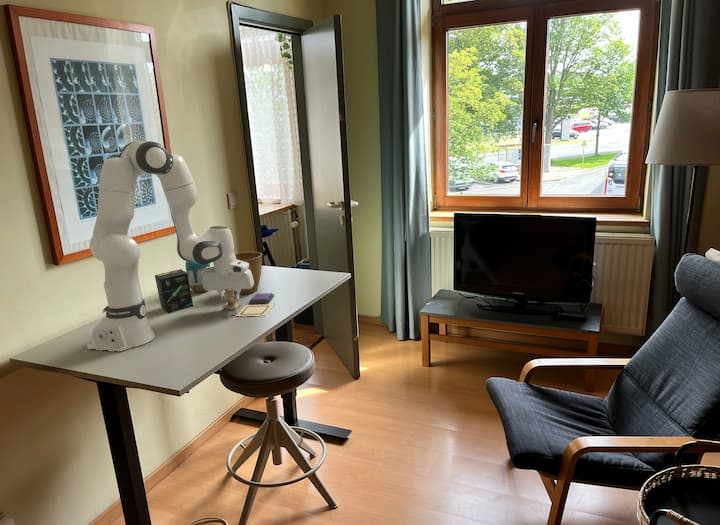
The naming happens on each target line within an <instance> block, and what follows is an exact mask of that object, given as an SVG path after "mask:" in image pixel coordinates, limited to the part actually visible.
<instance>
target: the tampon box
mask: <svg viewBox="0 0 720 525" xmlns="http://www.w3.org/2000/svg"><path fill="white" fill-rule="evenodd" d="M154 279H155V283H156V289H157V293H158V297H159V303H160V307H161V309H163V310H164V311H165V312H166V313H167V314H170V313H174V312H178V311H181V310H183V309H188V308H191V307H194V302H193V296H192V292H191V290H192V289H191V288H190V285H189V279H188V273H186V270H183V269H181V268H180V269H179V268H178V269H175V270H171V271H166V272H162V273H159V274H155V275H154Z"/></svg>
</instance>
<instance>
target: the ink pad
mask: <svg viewBox="0 0 720 525" xmlns="http://www.w3.org/2000/svg"><path fill="white" fill-rule="evenodd" d="M273 297H275V293H272V292H270V293H269V292H268V293H256V294H255V295H253V297H251V299H250V300H249V305H260V304H259V303H267V304H270V303H271V301H272V300H273V299H274V298H273ZM272 298H273V299H272Z"/></svg>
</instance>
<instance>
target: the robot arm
mask: <svg viewBox="0 0 720 525" xmlns="http://www.w3.org/2000/svg"><path fill="white" fill-rule="evenodd" d="M141 174H143V175H156V177H157V178H158V180H159V181H160V184H161V188H162V190H163V194H164V196H165V198H166V201H167V204H168V208H169V211H170V216H171V219H172V223H173V226H174V229H175V230H174V231H175V234H176V238H177V240H176V241H177V242H176V243H177V244H176V251H177V254H178V256H179V257H180V259H182V260H183V261H185V262H186V261H189V262H194V263H197V264H201V265H206V264H209V263H210V264H211V263H212V265H213V266H210V267H204V268H203V269H202V271H201V274H202V277H203V288H204V289H205V290H207V291H217V293H218V295H219V296H220V297H221V298H220V299H221V300H222V301H227V298H226V294H224V292H223V291H225V290H226V289H229V290H232V289H234V290H235V292H236V294H235V293H234V299H235V301H236V300H240V294H241V292H240V291H241V289H251V288H252V287H253V285H254V280H253V276H252V272H251V271H250V270H249V269H248V268H249V263H247V262H243V261H240V260H237V259H236V256H235V254H236V253H235V243H234V239H233V238H234V237H233V235H232V231H231V229H230V228H229V227H227V226H223V225H221V226H220V225H213V226H210V227H209V229H208V230H207V231H206V232H205V233H204V234H203V235H202V236H198V235H196V234H195V231H194V229H193V225H192V221H191V217H190V210H191V208H193V206H195V204H196V202H197V200H198V192H197V187H196V184H195V181H194V177H193V176H192V173H191V171H190V168H189V167H188V164H187V162H186V161H185V159H184V158H183V157H182V156H181V155H180V154H175V153H170V152H169V151H168V150H167V149H166V148H165V147H164V146H163V145H161V143H158V142H157V141H153V140H152V141H149V140H138V141H131V142H129V143H127V144H126V145H124V147H123V148H122V149H121V151H120V153H119V154H118V155H117V157H116V156H115V157H110V158H108V159H106V160H105V161H104V162H103V164H102V167H101V172H100V176H99V177H100V178H99V181H98V182H99V183H98V184H99V186H98V202H97V212H96V213H97V214H96V215H97V216H96V220H95V224H94V226H93V232H92V237H91V239H90V240H89V251H90V252H91V254H92V255H93V257H94V258H95V259H96V260H98V261H99V262H102V263H103V267H104V283H103V288H104V291H105V297H106V301H107V306H105V307H104V308H103V309H102V312H101V313H103V314H104V313H105V312H106V313H105V316H104V318H102V320H101V321H99V323H97V324H96V325H95V326H94V328H93V330H92V339H91V340H90V341H89V342H88V343H87V344H86V349H87V348H89V349H88V350H91V349H96V350H95V351H102V350H108V351H107V352H114V351H118V352H117V353H119V351H121V352H124V351H127V350H129V349H133V348H137V347H140V346H142V345H145V344H147V343H149V342H151V341H152V340H154V339H155V337H156V334H155V332H154V331H153V328H152V326H151V324H150V321H149V319H148V316H147V306H146V303H145V302H146V301H145V299H144V298H143V293H142V288H141V285H140V284H141V283H140V278H139V265H140V264H139V263H140V262H139V260H140V258H141V253H142V252H141V248H140V245H139V243H137V242H136V240H134V239H133V238H132V237H131V236H129V235H128V232H129V228H130V226H131V225H130V224H131V222H132V220H133V219H134V217H135V207H136V206H135V204H136V203H135V202H136V184H137V180H138V178H139V176H140V175H141ZM132 347H133V348H132ZM126 349H127V350H126ZM123 350H124V351H123Z"/></svg>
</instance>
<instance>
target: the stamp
mask: <svg viewBox="0 0 720 525" xmlns="http://www.w3.org/2000/svg"><path fill="white" fill-rule="evenodd" d="M234 290H235V289H232V290H229V289H226V290H224V291H225V295H226V298H227V299H226V303H225V304H224V305H223V306H222V308H223V311H224V310H226V311H237V310H238V309H239V308H240V307H241V304H240V303H241V302H240V301H236V300H235V299H234V295H235V293H234ZM238 307H239V308H238ZM237 308H238V309H237ZM236 309H237V310H236Z"/></svg>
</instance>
